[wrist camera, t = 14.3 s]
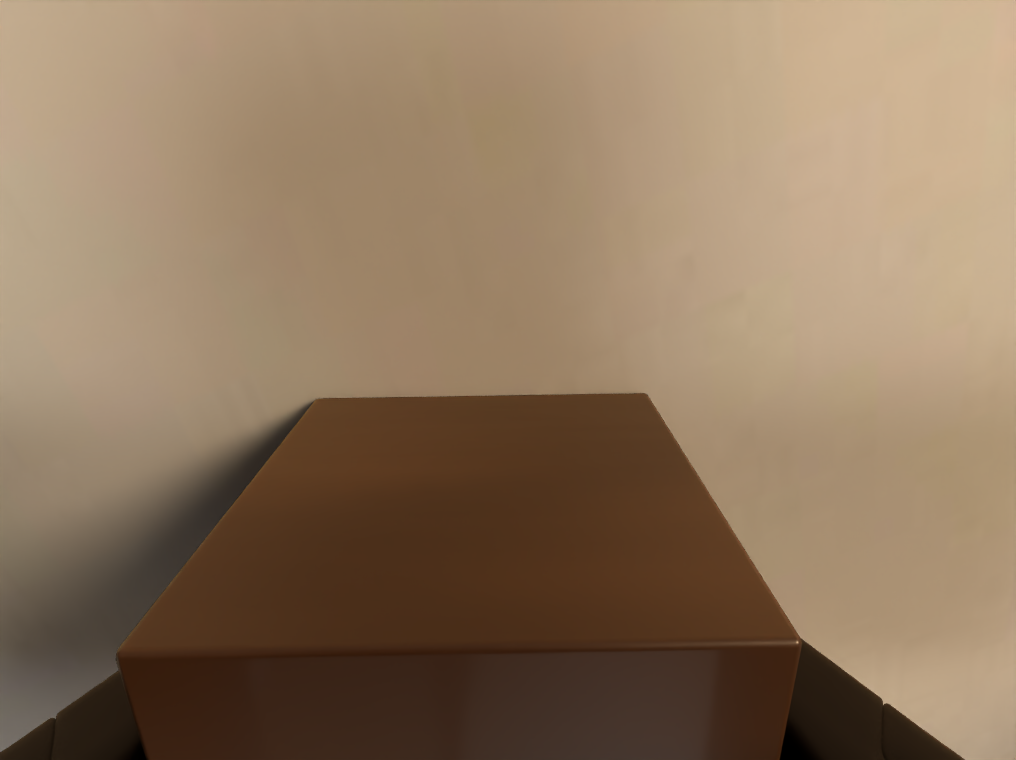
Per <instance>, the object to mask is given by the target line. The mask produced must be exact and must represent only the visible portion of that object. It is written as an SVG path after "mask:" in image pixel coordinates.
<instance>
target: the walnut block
mask: <svg viewBox="0 0 1016 760" xmlns="http://www.w3.org/2000/svg"><path fill="white" fill-rule="evenodd" d="M801 647H802V646H801V640H800V637H799V635H798V634H797V632H796V630H795V629H794V627H793V626H792V624H791V622H790V621H789V619H788V618H787V616H786V615H785V613H784V611H783V610H782V608H781V607H780V605H779V603H778V602H777V600H776V599H775V597H774V595H773V594H772V592H771V591H770V589H769V587H768V586H767V584H766V583H765V581H764V580H763V578H762V576H761V575H760V573H759V572H758V570H757V568H756V567H755V565H754V564H753V562H752V560H751V559H750V557H749V556H748V554H747V552H746V551H745V549H744V548H743V546H742V545H741V543H740V541H739V540H738V538H737V537H736V535H735V533H734V532H733V530H732V529H731V527H730V525H729V524H728V522H727V521H726V519H725V518H724V516H723V514H722V513H721V511H720V510H719V508H718V506H717V505H716V503H715V502H714V500H713V498H712V497H711V495H710V494H709V492H708V490H707V489H706V487H705V486H704V484H703V483H702V481H701V479H700V478H699V476H698V475H697V473H696V471H695V470H694V468H693V467H692V465H691V463H690V462H689V460H688V459H687V457H686V455H685V454H684V452H683V451H682V449H681V448H680V446H679V444H678V443H677V441H676V440H675V438H674V436H673V435H672V433H671V432H670V430H669V428H668V427H667V425H666V424H665V422H664V421H663V419H662V417H661V416H660V414H659V413H658V411H657V409H656V408H655V406H654V405H653V403H652V401H651V400H650V398H649V397H648V395H647V394H645V393H634V394H572V395H509V396H447V397H385V398H323V399H316V400H315V401H314V402H313V404H312V405H311V406H310V407H309V409H308V410H307V411H306V412H305V414H304V415H303V416H302V418H301V419H300V420H299V421H298V423H297V424H296V425H295V426H294V428H293V429H292V430H291V431H290V433H289V434H288V435H287V436H286V438H285V439H284V440H283V441H282V443H281V444H280V445H279V447H278V448H277V449H276V450H275V452H274V453H273V454H272V455H271V457H270V458H269V459H268V460H267V462H266V463H265V464H264V465H263V467H262V468H261V469H260V470H259V472H258V473H257V474H256V476H255V477H254V478H253V479H252V481H251V482H250V483H249V484H248V486H247V487H246V488H245V489H244V491H243V492H242V493H241V494H240V496H239V497H238V498H237V499H236V501H235V502H234V503H233V505H232V506H231V507H230V508H229V510H228V511H227V512H226V513H225V515H224V516H223V517H222V518H221V520H220V521H219V522H218V523H217V525H216V526H215V527H214V528H213V530H212V531H211V532H210V534H209V535H208V536H207V537H206V539H205V540H204V541H203V542H202V544H201V545H200V546H199V547H198V549H197V550H196V551H195V552H194V554H193V555H192V556H191V557H190V559H189V560H188V561H187V563H186V564H185V565H184V566H183V568H182V569H181V570H180V571H179V573H178V574H177V575H176V576H175V578H174V579H173V580H172V581H171V583H170V584H169V585H168V586H167V588H166V589H165V590H164V592H163V593H162V594H161V595H160V597H159V598H158V599H157V600H156V602H155V603H154V604H153V605H152V607H151V608H150V609H149V610H148V612H147V613H146V614H145V615H144V617H143V618H142V619H141V621H140V622H139V623H138V624H137V626H136V627H135V628H134V629H133V631H132V632H131V633H130V634H129V636H128V637H127V638H126V639H125V641H124V642H123V643H122V644H121V646H120V647H119V648H118V650H117V653H116V662H117V665H118V668H119V672H120V675H121V678H122V682H123V685H124V688H125V691H126V695H127V698H128V701H129V705H130V708H131V711H132V714H133V718H134V721H135V724H136V728H137V731H138V734H139V737H140V741H141V744H142V747H143V750H144V754H145V757H146V760H780V755H781V750H782V745H783V739H784V734H785V729H786V724H787V719H788V714H789V709H790V704H791V699H792V693H793V688H794V683H795V678H796V673H797V668H798V663H799V658H800V652H801Z"/></svg>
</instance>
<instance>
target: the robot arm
mask: <svg viewBox="0 0 1016 760" xmlns="http://www.w3.org/2000/svg"><path fill="white" fill-rule="evenodd" d="M800 640H801V646H802V647H801V652H800V658H799V663H798V668H797V673H796V678H795V683H794V688H793V693H792V699H791V704H790V709H789V714H788V719H787V724H786V729H785V734H784V739H783V745H782V750H781V755H780V760H965V759H963V758H962V757H961V756H959V755H958V754H956V753H955V752H954V751H952V750H951V749H949V748H948V747H947V746H945V745H944V744H943V743H941V742H940V741H938V740H937V739H936V738H934V737H933V736H931V735H930V734H929V733H927V732H926V731H925V730H923V729H922V728H920V727H919V726H918V725H916V724H915V723H914V722H912V721H911V720H910V719H908V718H907V717H906V716H904V715H903V714H902V713H900V712H899V711H898V710H896V709H895V708H894V707H892V706H891V705H890V704H884V705H883V701H882V699H881V698H880V697H879V696H877V695H876V694H875V693H873V692H872V691H871V690H869V689H868V688H867V687H865V686H864V685H863V684H861V683H860V682H859V681H857V680H856V679H855V678H853V677H852V676H851V675H849V674H848V673H847V672H845V671H844V670H843V669H841V668H840V667H839V666H837V665H836V664H835V663H833V662H832V661H831V660H829V659H828V658H827V657H825V656H824V655H823V654H821V653H820V652H819V651H817V650H816V649H815V648H813V647H812V646H811V645H809V644H808V643H807V642H805V641H804V640H803V639H801V638H800ZM0 760H146V757H145V754H144V750H143V747H142V744H141V741H140V737H139V734H138V731H137V728H136V724H135V721H134V718H133V714H132V711H131V708H130V705H129V701H128V698H127V695H126V691H125V688H124V685H123V682H122V678H121V675H120V672H119V671H117V672H116V673H114V674H113V675H112V676H110V677H109V678H107V679H106V680H104V681H103V682H102V683H100V684H99V685H97V686H96V687H94V688H93V689H91V690H90V691H89V692H87V693H86V694H84V695H83V696H81V697H80V698H79V699H77V700H76V701H74V702H73V703H71V704H70V705H69V706H67V707H66V708H64V709H63V710H61V711H60V712H59V713H58V714H57V716H56V719H55V718H50V719H48V720H47V721H45V722H44V723H43V724H41V725H40V726H38V727H37V728H35V729H34V730H32V731H31V732H30V733H28V734H27V735H25V736H24V737H22V738H21V739H20V740H18V741H17V742H15V743H14V744H12V745H11V746H9V747H8V748H6V749H5V750H3V751H2V752H0Z"/></svg>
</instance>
